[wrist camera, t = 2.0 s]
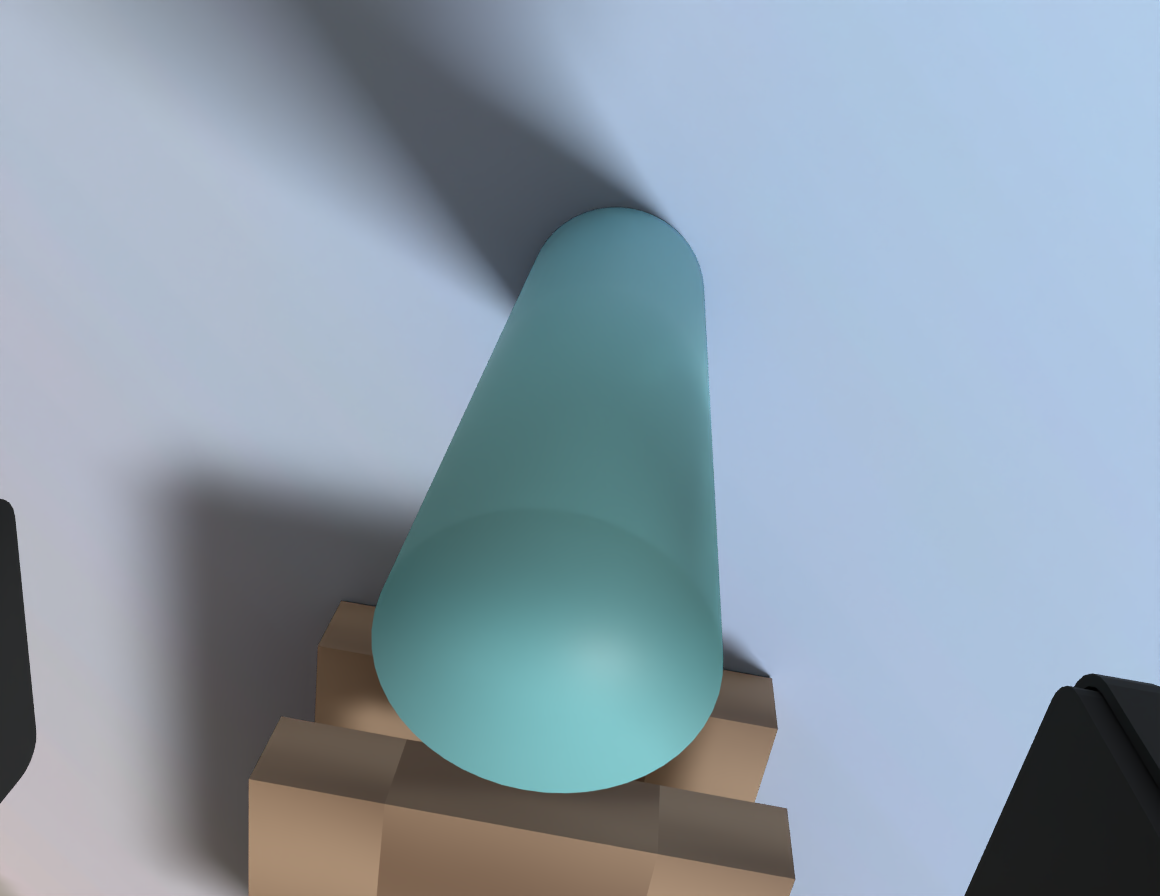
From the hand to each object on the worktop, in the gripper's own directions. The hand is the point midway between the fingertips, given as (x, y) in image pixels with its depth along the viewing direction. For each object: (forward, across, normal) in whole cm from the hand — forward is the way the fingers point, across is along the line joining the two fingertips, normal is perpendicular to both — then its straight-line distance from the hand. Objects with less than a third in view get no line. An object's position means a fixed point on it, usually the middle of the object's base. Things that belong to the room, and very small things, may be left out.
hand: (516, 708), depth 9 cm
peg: (+10, 0, -1) cm, 10 cm away
